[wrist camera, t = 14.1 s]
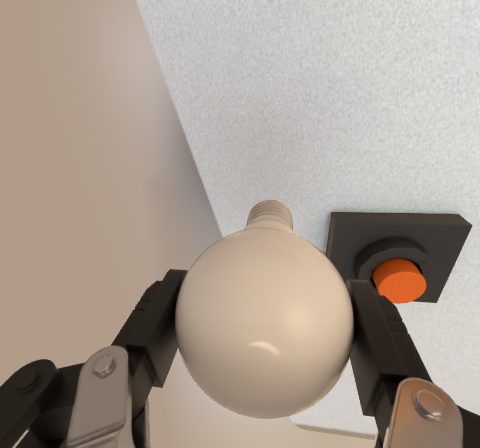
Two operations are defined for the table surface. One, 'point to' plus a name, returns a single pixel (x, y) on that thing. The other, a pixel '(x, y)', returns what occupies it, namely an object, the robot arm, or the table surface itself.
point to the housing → (397, 245)
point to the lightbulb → (264, 319)
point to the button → (399, 280)
